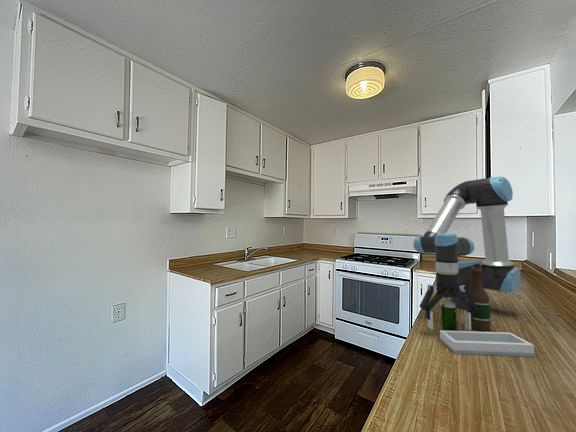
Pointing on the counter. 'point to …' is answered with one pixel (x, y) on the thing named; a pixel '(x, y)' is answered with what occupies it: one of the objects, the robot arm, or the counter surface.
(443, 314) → the beer can
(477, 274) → the beer bottle
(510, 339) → the tray
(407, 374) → the counter surface
